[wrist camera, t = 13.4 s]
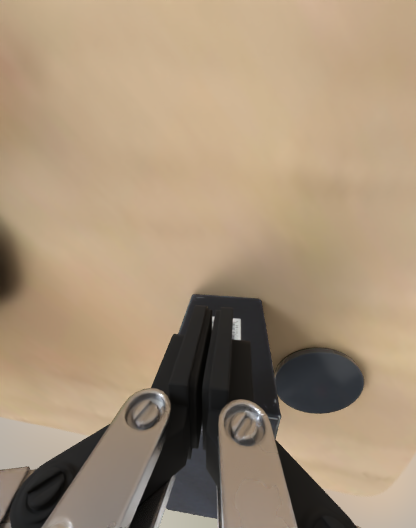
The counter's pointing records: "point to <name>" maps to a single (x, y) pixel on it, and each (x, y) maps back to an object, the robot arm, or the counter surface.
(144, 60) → the counter surface
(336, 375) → the slate coaster
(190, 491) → the small box
